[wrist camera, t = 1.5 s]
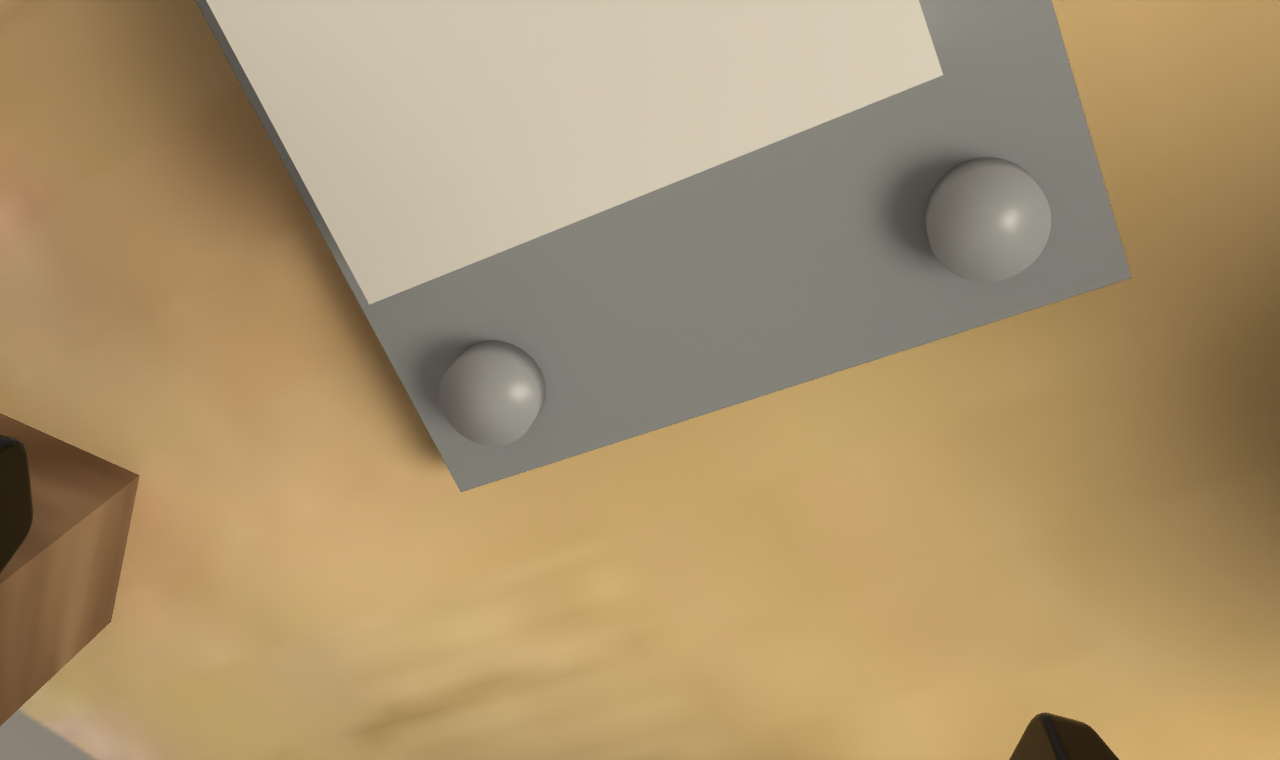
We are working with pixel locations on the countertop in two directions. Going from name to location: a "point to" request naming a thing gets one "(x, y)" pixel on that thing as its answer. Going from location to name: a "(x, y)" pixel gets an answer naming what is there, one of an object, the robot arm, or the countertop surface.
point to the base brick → (670, 194)
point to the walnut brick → (60, 562)
